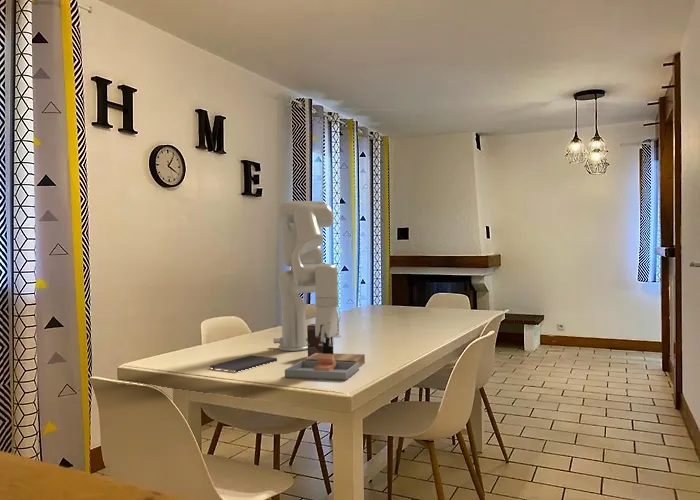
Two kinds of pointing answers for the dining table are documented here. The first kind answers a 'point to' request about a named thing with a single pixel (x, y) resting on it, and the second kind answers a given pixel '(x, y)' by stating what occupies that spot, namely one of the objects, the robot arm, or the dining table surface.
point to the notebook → (243, 363)
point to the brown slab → (342, 358)
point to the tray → (307, 371)
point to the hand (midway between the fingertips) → (328, 358)
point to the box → (313, 341)
